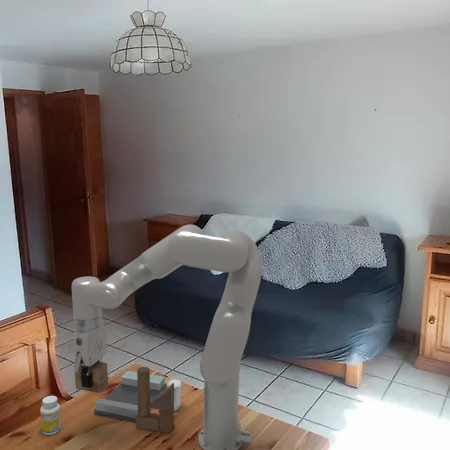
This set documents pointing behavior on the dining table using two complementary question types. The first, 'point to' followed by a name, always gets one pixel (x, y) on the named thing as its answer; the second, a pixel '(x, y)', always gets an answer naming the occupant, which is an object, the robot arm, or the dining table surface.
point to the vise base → (123, 402)
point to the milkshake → (176, 392)
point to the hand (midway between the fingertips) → (91, 382)
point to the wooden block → (154, 405)
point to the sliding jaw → (131, 380)
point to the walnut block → (94, 378)
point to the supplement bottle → (50, 415)
